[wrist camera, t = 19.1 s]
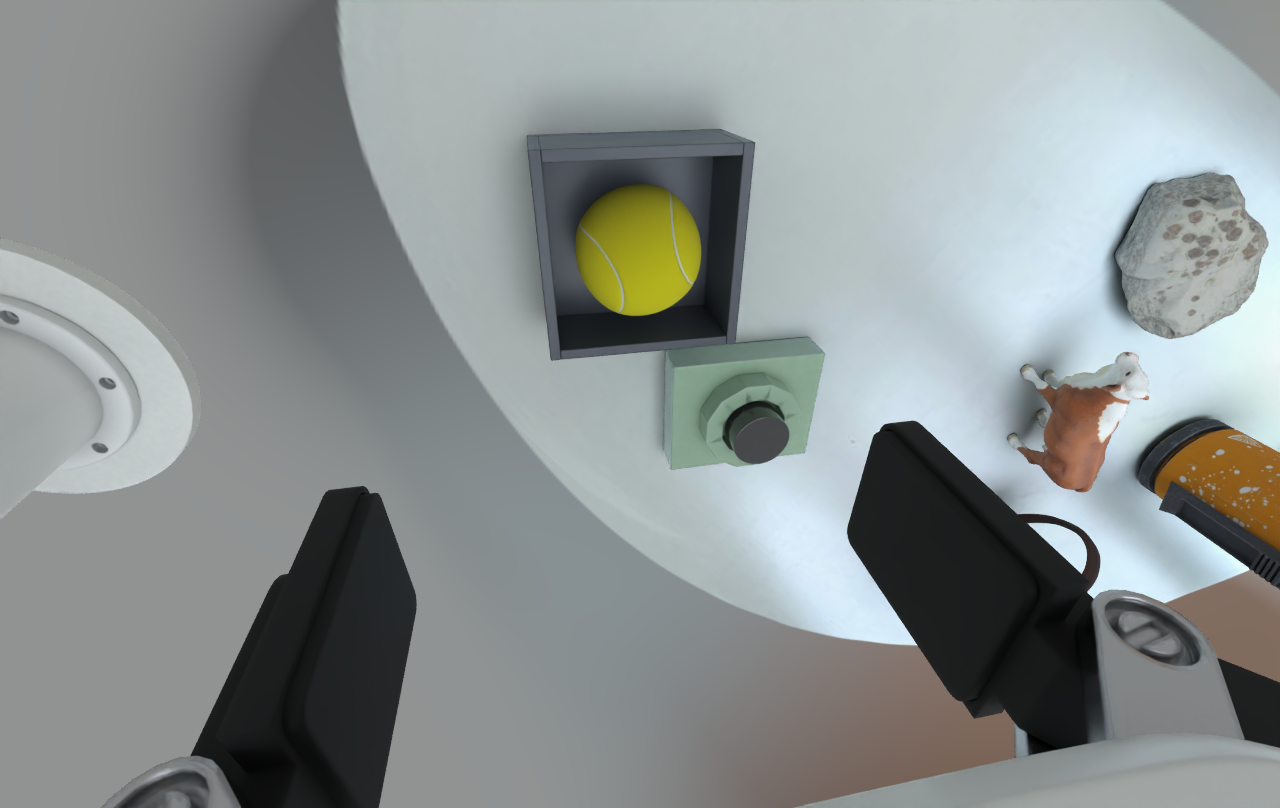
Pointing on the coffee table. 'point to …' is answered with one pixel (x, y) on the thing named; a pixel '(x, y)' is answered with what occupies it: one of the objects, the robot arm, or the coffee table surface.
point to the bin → (675, 160)
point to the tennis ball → (638, 249)
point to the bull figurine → (1082, 418)
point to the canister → (1221, 490)
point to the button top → (756, 432)
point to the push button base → (736, 395)
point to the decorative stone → (1190, 255)
